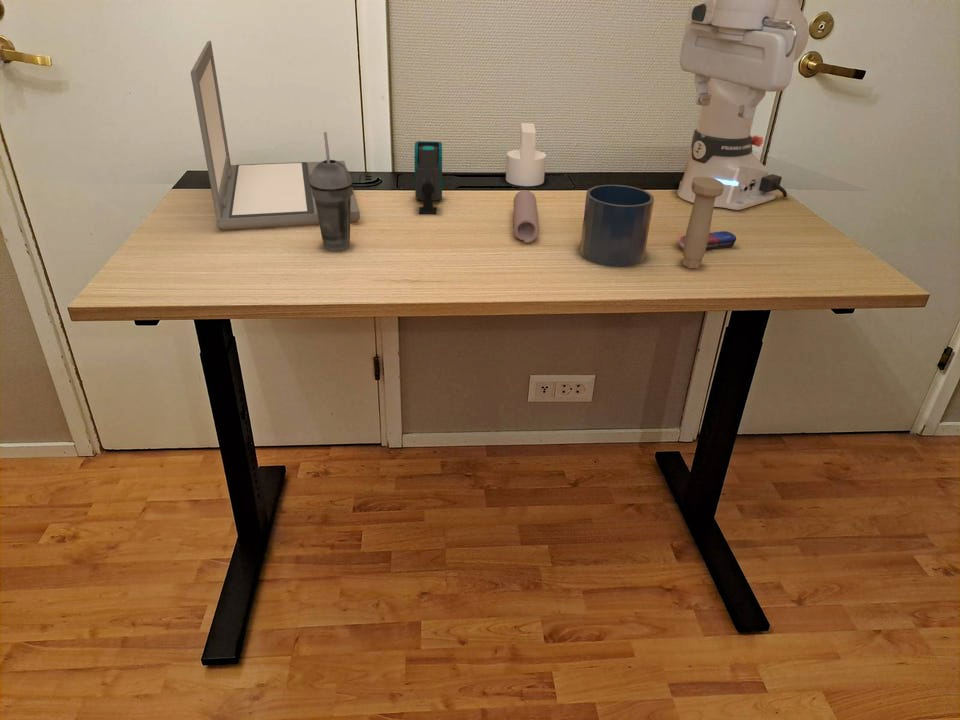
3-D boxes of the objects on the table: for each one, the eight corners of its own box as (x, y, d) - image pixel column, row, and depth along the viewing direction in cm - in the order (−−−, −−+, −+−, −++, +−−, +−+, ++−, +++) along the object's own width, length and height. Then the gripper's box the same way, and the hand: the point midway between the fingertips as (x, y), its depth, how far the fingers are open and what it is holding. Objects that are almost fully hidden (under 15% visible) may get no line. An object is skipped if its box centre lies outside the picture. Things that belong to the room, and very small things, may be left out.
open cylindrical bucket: (618, 238, 134) (626, 181, 128) (657, 260, 125) (667, 201, 119) (567, 246, 129) (573, 189, 123) (604, 270, 120) (612, 209, 114)
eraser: (685, 253, 128) (687, 244, 127) (674, 244, 132) (675, 235, 131) (738, 246, 131) (740, 237, 130) (725, 238, 134) (727, 229, 133)
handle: (698, 258, 126) (715, 177, 118) (710, 273, 121) (729, 188, 113) (672, 258, 126) (687, 176, 118) (683, 273, 120) (700, 188, 113)
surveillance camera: (412, 154, 135) (414, 141, 143) (413, 213, 141) (415, 197, 150) (441, 154, 135) (442, 141, 144) (441, 214, 141) (442, 198, 150)
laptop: (360, 224, 135) (350, 68, 120) (217, 233, 129) (187, 70, 114) (345, 171, 164) (335, 40, 149) (227, 176, 158) (205, 40, 143)
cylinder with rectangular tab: (545, 186, 159) (549, 133, 153) (506, 185, 159) (508, 132, 153) (542, 175, 167) (546, 123, 160) (505, 173, 167) (507, 122, 160)
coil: (541, 221, 127) (538, 190, 143) (515, 218, 127) (515, 187, 142) (536, 245, 130) (534, 212, 145) (511, 241, 130) (511, 209, 145)
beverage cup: (322, 257, 121) (311, 141, 111) (311, 242, 127) (299, 130, 116) (362, 250, 124) (355, 137, 114) (349, 236, 130) (341, 127, 119)
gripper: (816, 21, 96) (789, 124, 103) (711, 7, 111) (694, 97, 118) (783, 22, 93) (758, 127, 100) (681, 7, 108) (665, 99, 116)
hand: (723, 111), depth 109 cm, fingers open, 8 cm apart
